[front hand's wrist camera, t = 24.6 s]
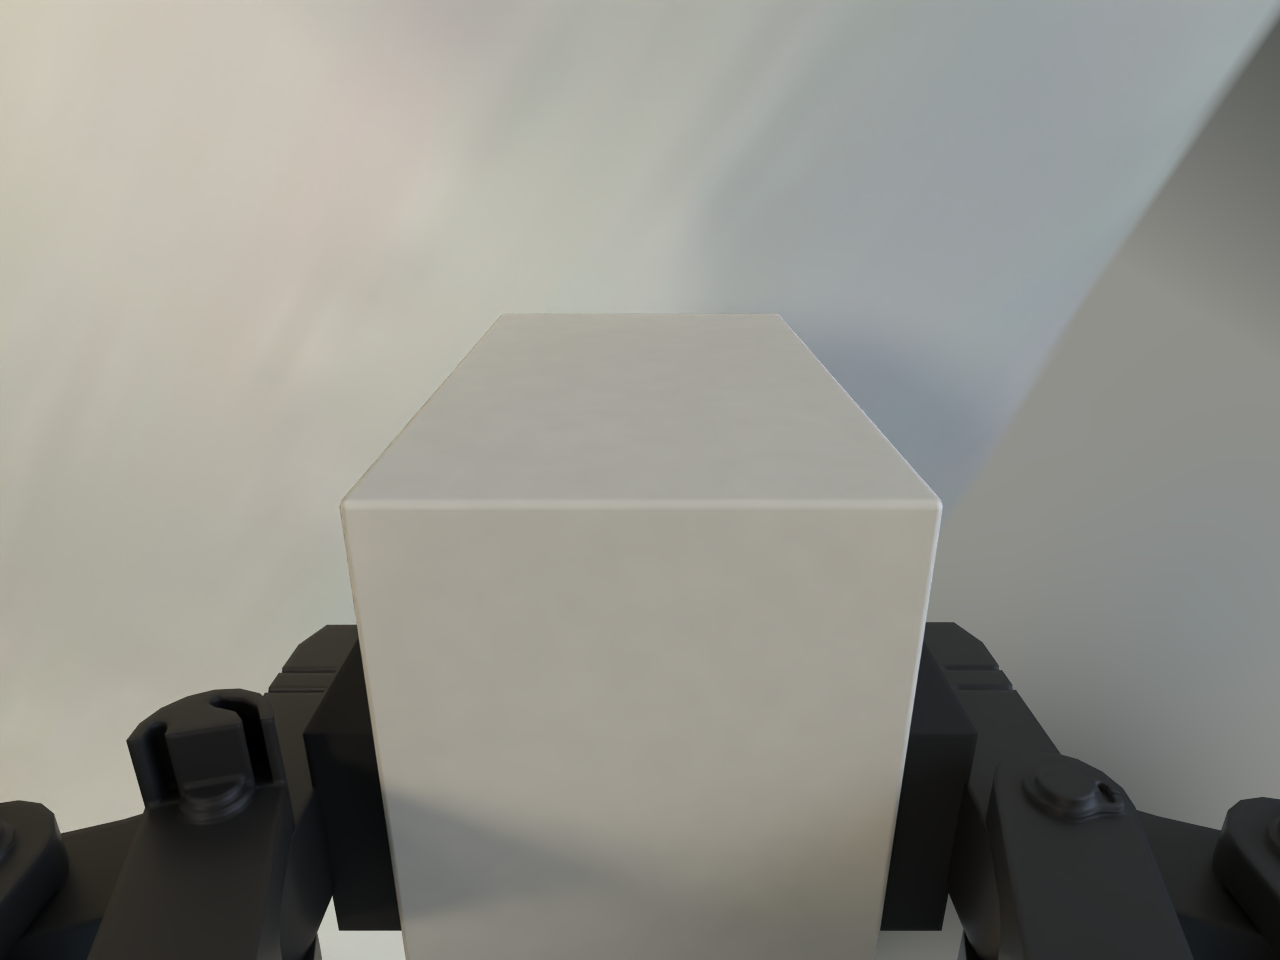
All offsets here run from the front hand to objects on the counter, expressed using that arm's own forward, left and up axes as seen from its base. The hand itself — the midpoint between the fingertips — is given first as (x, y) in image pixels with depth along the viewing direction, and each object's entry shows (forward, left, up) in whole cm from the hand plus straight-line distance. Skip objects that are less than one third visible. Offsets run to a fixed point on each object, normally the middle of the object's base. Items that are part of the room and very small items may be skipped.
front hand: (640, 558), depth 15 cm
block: (0, 0, -2) cm, 2 cm away
